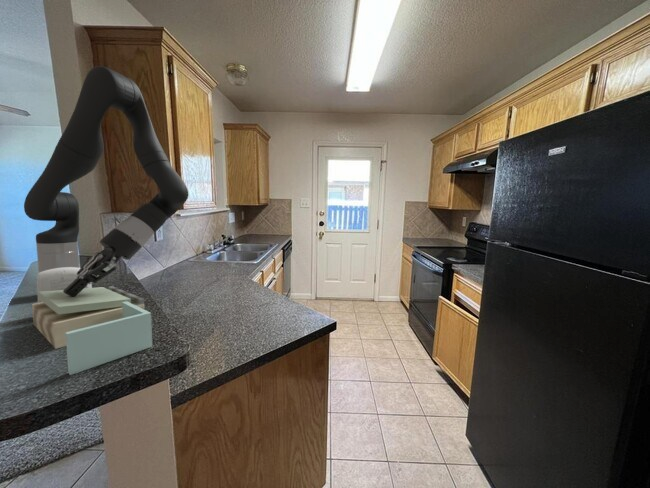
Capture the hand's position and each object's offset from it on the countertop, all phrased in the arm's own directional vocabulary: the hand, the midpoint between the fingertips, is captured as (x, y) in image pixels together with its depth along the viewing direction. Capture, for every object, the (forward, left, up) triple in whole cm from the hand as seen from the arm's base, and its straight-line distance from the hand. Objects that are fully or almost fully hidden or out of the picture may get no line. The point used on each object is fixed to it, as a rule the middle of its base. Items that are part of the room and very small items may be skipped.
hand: (68, 294), depth 59 cm
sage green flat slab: (0, +3, -2) cm, 3 cm away
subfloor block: (0, +3, -8) cm, 9 cm away
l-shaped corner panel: (+17, +1, -9) cm, 20 cm away
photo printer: (-14, +2, -8) cm, 16 cm away
